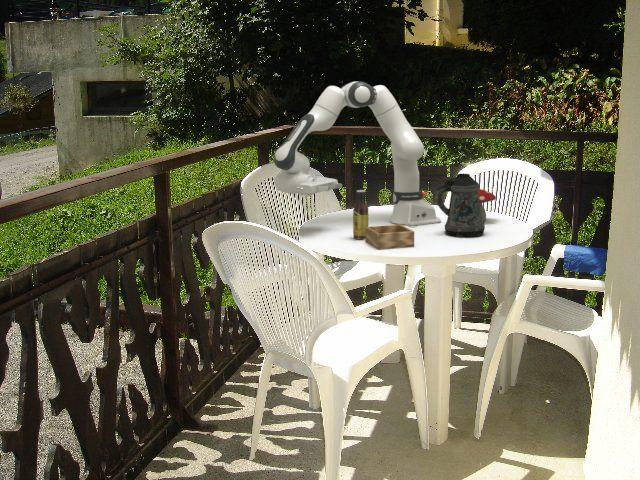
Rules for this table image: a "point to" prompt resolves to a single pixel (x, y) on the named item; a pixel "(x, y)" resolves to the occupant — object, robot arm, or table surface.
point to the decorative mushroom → (484, 197)
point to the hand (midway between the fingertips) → (335, 187)
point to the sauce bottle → (360, 215)
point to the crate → (389, 236)
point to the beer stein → (462, 207)
